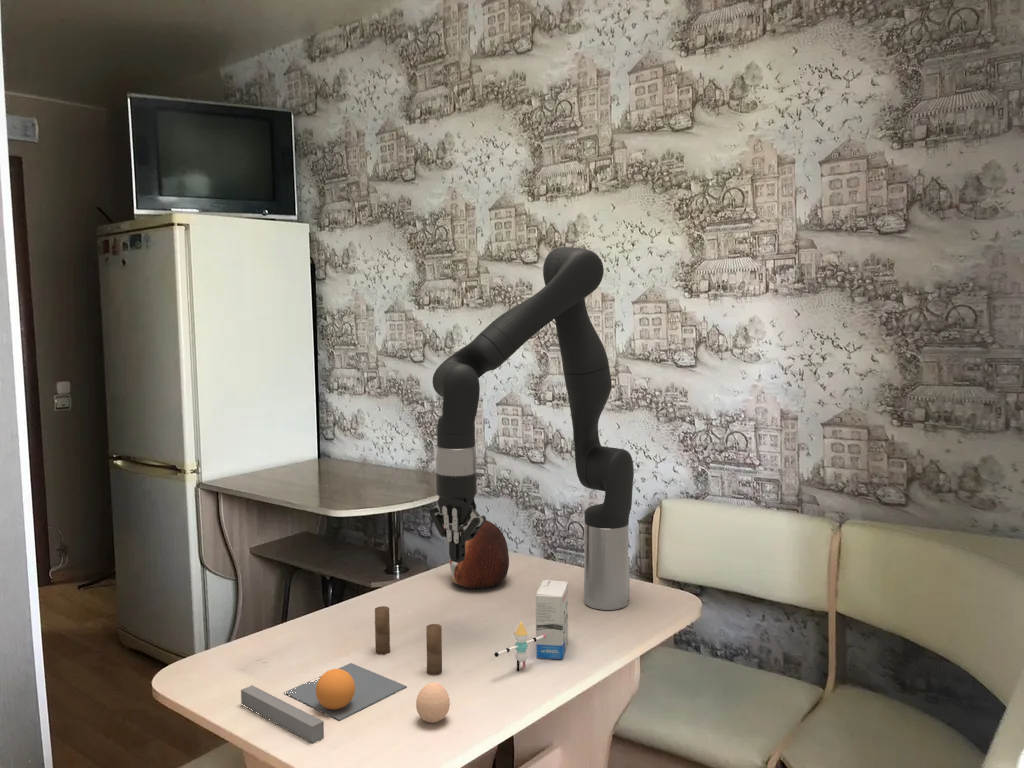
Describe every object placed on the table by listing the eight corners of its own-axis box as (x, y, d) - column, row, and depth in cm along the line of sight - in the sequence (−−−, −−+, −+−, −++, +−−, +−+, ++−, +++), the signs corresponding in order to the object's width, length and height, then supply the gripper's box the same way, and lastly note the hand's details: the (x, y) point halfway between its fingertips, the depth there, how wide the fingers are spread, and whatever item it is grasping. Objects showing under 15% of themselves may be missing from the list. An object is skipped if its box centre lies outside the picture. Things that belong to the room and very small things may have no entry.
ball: (313, 713, 128) (339, 691, 132) (340, 721, 124) (366, 697, 129) (303, 680, 126) (330, 658, 131) (331, 686, 123) (357, 664, 128)
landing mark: (351, 663, 143) (351, 662, 143) (406, 687, 135) (406, 686, 135) (283, 693, 133) (283, 692, 133) (339, 720, 124) (339, 719, 124)
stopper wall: (252, 700, 130) (252, 685, 130) (323, 737, 119) (323, 721, 119) (241, 704, 129) (240, 689, 129) (312, 743, 118) (312, 726, 117)
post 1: (383, 647, 150) (382, 605, 150) (393, 651, 149) (392, 608, 148) (372, 651, 148) (371, 609, 148) (382, 655, 147) (381, 612, 146)
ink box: (562, 660, 145) (562, 596, 144) (534, 658, 146) (535, 594, 145) (568, 641, 153) (569, 580, 152) (542, 639, 154) (542, 578, 153)
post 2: (434, 666, 142) (433, 622, 141) (445, 671, 141) (444, 626, 140) (423, 672, 140) (423, 627, 139) (434, 676, 139) (434, 631, 138)
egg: (441, 709, 127) (441, 673, 127) (455, 724, 123) (455, 686, 122) (411, 717, 125) (410, 680, 124) (424, 732, 121) (423, 694, 120)
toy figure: (540, 656, 146) (540, 610, 145) (549, 661, 144) (550, 613, 144) (489, 677, 138) (489, 628, 137) (499, 682, 136) (499, 632, 135)
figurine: (459, 568, 195) (459, 507, 194) (519, 578, 188) (519, 514, 187) (427, 587, 182) (427, 521, 181) (490, 598, 175) (490, 530, 174)
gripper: (496, 471, 150) (497, 563, 152) (444, 462, 158) (445, 549, 160) (469, 478, 144) (470, 573, 146) (416, 468, 153) (418, 559, 154)
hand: (457, 560), depth 153 cm, fingers closed
